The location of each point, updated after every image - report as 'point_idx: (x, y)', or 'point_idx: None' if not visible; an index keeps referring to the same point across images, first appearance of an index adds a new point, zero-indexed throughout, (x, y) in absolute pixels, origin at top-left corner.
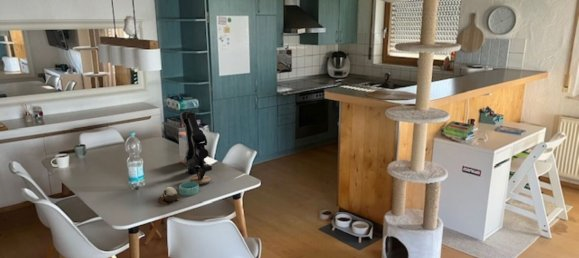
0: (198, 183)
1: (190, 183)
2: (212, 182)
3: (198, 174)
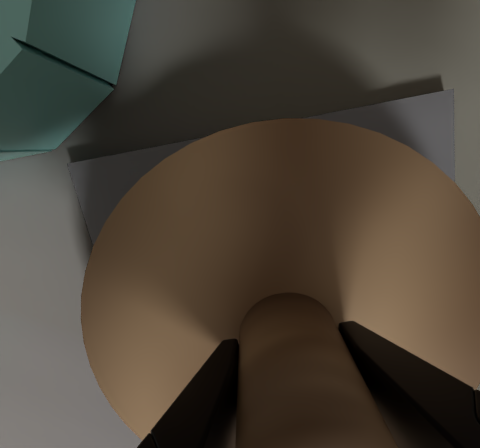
0: (105, 231)
1: (4, 2)
2: None
3: (274, 393)
